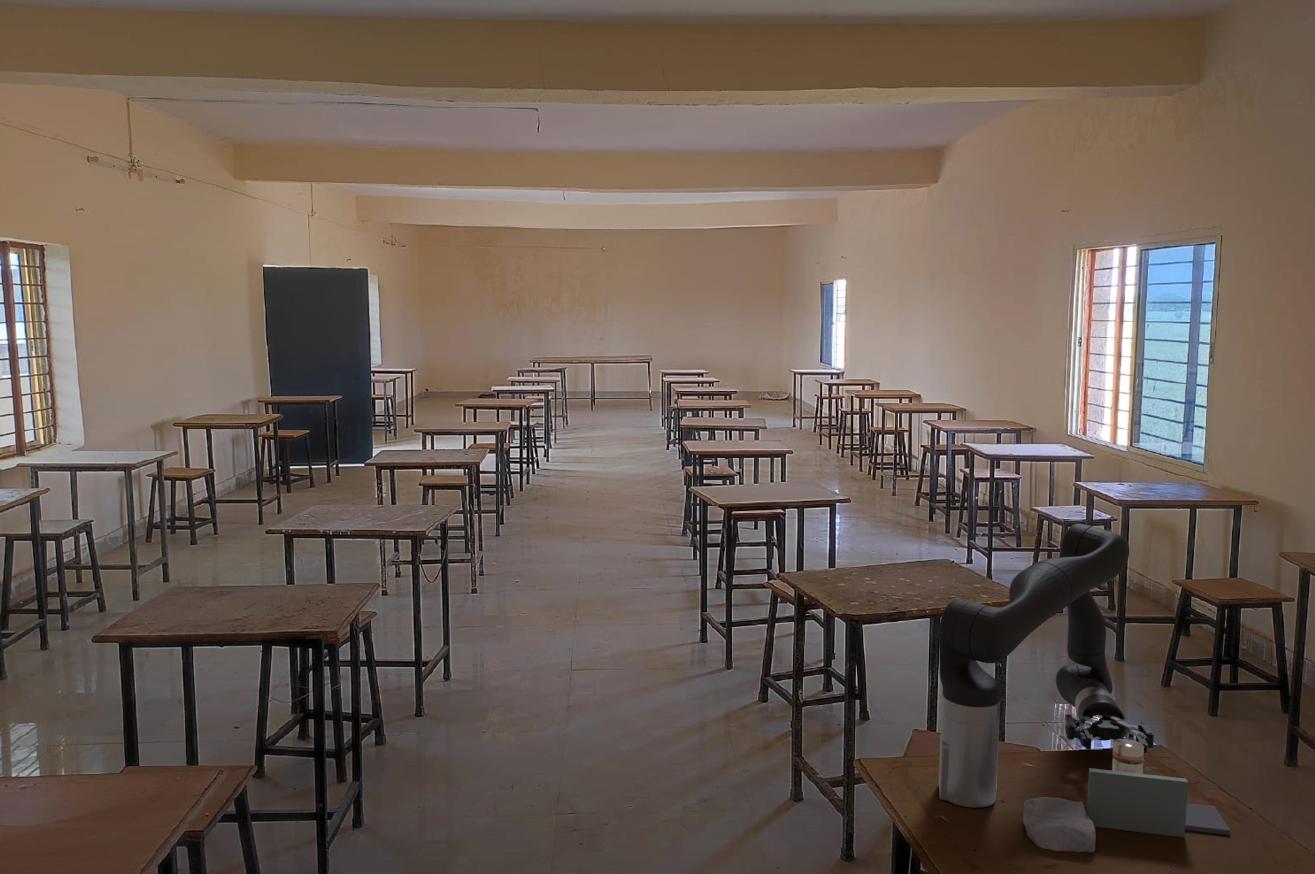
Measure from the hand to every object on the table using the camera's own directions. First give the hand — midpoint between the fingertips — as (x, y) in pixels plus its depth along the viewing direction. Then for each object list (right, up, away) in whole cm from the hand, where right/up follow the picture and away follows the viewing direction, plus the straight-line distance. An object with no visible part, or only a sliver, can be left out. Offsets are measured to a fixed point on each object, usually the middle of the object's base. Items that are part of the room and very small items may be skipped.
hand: (1115, 747), depth 168 cm
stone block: (-17, -9, -16) cm, 25 cm away
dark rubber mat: (+7, -8, -12) cm, 16 cm away
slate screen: (-4, -8, -15) cm, 18 cm away
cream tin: (-2, -7, -8) cm, 12 cm away
